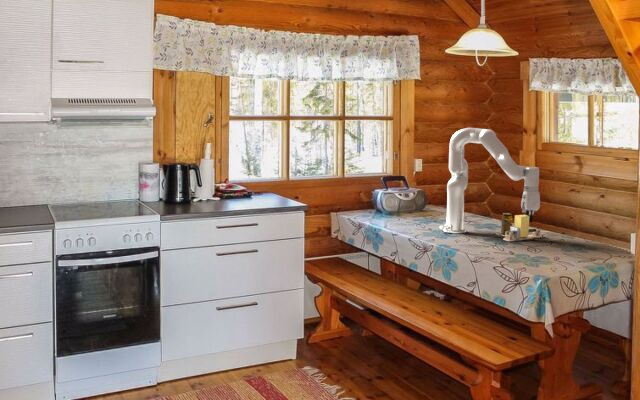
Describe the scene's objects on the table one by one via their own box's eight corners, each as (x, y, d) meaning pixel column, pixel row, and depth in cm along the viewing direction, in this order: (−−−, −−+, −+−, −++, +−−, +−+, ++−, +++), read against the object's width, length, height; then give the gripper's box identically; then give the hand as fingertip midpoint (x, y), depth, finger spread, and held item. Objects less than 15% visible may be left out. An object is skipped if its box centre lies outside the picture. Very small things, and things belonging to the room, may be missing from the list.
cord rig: (509, 241, 378) (509, 232, 377) (503, 239, 382) (503, 230, 382) (541, 237, 389) (542, 228, 388) (535, 235, 394) (535, 227, 393)
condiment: (514, 234, 396) (516, 214, 394) (504, 236, 391) (505, 215, 390) (505, 232, 402) (506, 212, 400) (494, 234, 397) (495, 213, 396)
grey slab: (516, 239, 380) (517, 228, 379) (509, 237, 385) (510, 226, 384) (519, 238, 381) (520, 227, 380) (512, 237, 386) (513, 226, 385)
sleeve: (520, 237, 381) (521, 216, 380) (513, 235, 386) (514, 215, 384) (528, 236, 384) (529, 215, 382) (521, 234, 388) (522, 214, 387)
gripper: (526, 191, 377) (524, 224, 380) (546, 189, 384) (544, 222, 387) (516, 189, 383) (514, 221, 386) (536, 187, 390) (534, 219, 393)
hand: (529, 221), depth 386 cm, fingers closed
